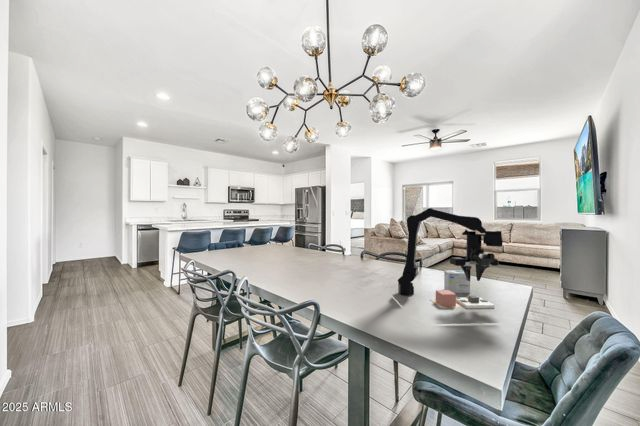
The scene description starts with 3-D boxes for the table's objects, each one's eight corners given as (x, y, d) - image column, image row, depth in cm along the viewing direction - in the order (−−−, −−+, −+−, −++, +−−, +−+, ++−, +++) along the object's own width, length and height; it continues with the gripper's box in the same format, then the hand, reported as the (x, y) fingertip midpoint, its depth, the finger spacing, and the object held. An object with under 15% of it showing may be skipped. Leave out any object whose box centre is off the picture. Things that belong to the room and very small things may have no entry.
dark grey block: (472, 303, 116) (472, 297, 116) (468, 301, 119) (468, 295, 119) (479, 303, 116) (479, 297, 116) (474, 300, 119) (474, 295, 119)
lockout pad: (439, 309, 113) (439, 307, 113) (429, 301, 123) (429, 299, 123) (463, 309, 114) (463, 307, 114) (450, 301, 124) (450, 299, 124)
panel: (466, 310, 113) (466, 304, 113) (454, 301, 123) (454, 296, 123) (494, 309, 113) (494, 304, 113) (479, 301, 123) (479, 296, 123)
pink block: (442, 305, 115) (442, 294, 115) (435, 301, 121) (435, 290, 121) (455, 305, 116) (455, 294, 115) (448, 301, 122) (448, 290, 121)
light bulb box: (464, 290, 140) (465, 270, 140) (470, 294, 133) (470, 273, 133) (443, 290, 141) (443, 269, 141) (448, 294, 134) (448, 272, 134)
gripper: (463, 248, 109) (463, 286, 109) (508, 248, 110) (507, 285, 110) (449, 244, 120) (449, 279, 120) (489, 244, 121) (489, 278, 121)
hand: (473, 280), depth 118 cm, fingers open, 4 cm apart
